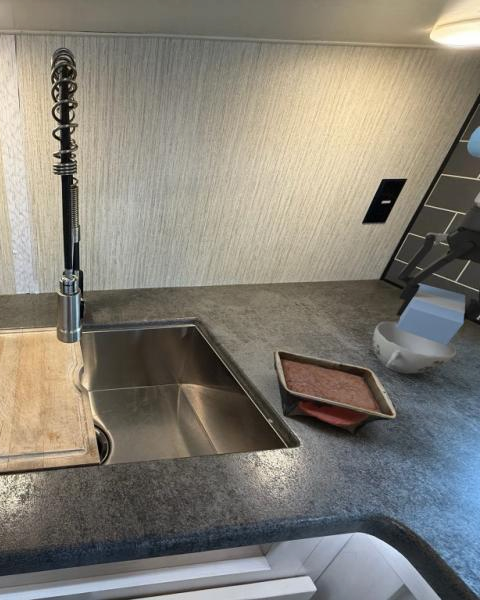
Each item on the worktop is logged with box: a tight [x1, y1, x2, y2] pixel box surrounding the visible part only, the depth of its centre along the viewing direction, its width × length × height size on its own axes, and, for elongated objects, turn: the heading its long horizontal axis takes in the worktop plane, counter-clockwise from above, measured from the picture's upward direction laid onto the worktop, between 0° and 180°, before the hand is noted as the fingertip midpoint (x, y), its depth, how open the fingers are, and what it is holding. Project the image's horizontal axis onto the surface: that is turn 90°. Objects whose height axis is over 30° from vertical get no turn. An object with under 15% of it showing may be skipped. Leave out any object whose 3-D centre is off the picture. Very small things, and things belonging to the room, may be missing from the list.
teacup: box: [372, 321, 457, 375], centre depth 68 cm, size 15×12×8 cm
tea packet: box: [396, 282, 466, 345], centre depth 62 cm, size 15×7×5 cm, turn 132°
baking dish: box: [273, 349, 398, 436], centre depth 59 cm, size 14×18×10 cm
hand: (424, 321), depth 64 cm, fingers closed on tea packet, 7 cm apart
